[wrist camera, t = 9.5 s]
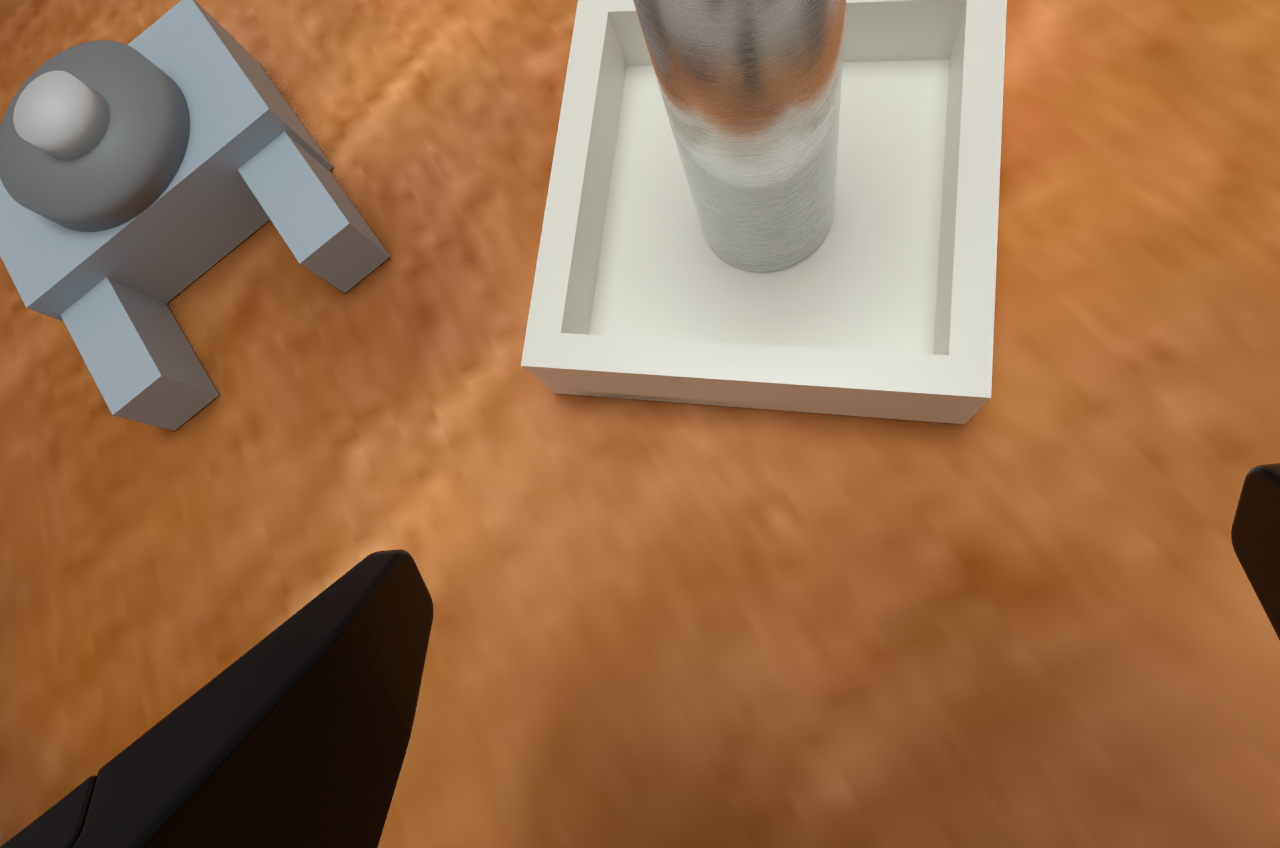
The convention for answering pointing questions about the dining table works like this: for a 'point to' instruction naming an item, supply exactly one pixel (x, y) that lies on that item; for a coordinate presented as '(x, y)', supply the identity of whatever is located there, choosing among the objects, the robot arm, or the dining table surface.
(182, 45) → the tensioner block
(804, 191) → the pin
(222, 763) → the robot arm
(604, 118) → the tray
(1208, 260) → the dining table surface
